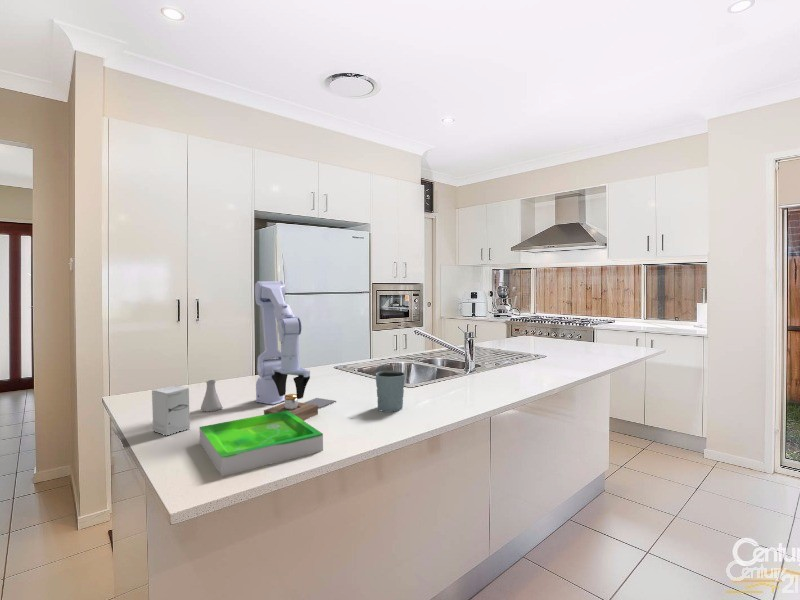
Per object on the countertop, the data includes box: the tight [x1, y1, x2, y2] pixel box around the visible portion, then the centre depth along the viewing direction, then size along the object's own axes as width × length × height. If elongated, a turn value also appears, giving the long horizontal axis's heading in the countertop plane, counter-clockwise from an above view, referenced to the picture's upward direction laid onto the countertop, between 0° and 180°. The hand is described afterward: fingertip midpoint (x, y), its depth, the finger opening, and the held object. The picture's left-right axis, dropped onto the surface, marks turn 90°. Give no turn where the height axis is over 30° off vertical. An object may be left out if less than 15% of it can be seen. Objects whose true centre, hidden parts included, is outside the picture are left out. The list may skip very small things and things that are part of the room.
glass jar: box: [284, 393, 299, 411], centre depth 140 cm, size 4×4×7 cm
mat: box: [303, 397, 337, 409], centre depth 156 cm, size 9×9×1 cm
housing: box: [263, 401, 319, 421], centre depth 141 cm, size 12×12×3 cm
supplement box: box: [151, 385, 191, 437], centre depth 128 cm, size 7×7×13 cm
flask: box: [200, 379, 224, 413], centre depth 150 cm, size 7×7×10 cm
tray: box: [198, 410, 324, 477], centre depth 116 cm, size 25×25×5 cm
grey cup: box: [375, 370, 406, 413], centre depth 149 cm, size 10×10×12 cm
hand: (291, 396), depth 140 cm, fingers open, 7 cm apart
